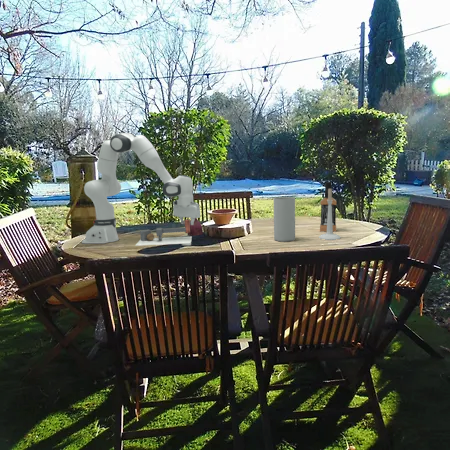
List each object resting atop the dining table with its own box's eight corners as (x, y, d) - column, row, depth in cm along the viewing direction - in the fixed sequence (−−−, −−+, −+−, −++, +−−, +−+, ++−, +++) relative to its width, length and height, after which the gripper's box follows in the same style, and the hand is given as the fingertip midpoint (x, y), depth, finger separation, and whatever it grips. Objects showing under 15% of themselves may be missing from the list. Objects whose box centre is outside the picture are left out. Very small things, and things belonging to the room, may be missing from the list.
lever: (156, 235, 235) (155, 222, 233) (156, 233, 242) (155, 221, 240) (190, 234, 237) (189, 220, 236) (190, 232, 244) (189, 219, 243)
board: (135, 247, 228) (134, 235, 227) (141, 240, 249) (140, 229, 247) (190, 245, 229) (190, 232, 228) (191, 238, 250) (191, 227, 249)
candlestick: (334, 235, 243) (334, 186, 239) (344, 239, 231) (345, 188, 226) (315, 237, 241) (315, 187, 236) (324, 240, 228) (324, 189, 224)
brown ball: (146, 241, 238) (146, 234, 238) (147, 240, 243) (147, 232, 242) (153, 241, 239) (153, 233, 238) (154, 239, 243) (154, 232, 242)
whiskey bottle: (336, 229, 264) (336, 181, 259) (336, 231, 255) (336, 182, 250) (320, 229, 267) (320, 181, 262) (319, 231, 257) (320, 182, 252)
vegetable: (200, 240, 260) (201, 219, 253) (185, 238, 262) (185, 217, 255) (204, 233, 269) (205, 213, 263) (190, 231, 271) (190, 211, 265)
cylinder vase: (275, 242, 229) (274, 199, 226) (273, 238, 242) (272, 197, 238) (296, 241, 229) (296, 198, 225) (293, 237, 242) (293, 196, 238)
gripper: (202, 202, 235) (203, 224, 238) (178, 200, 248) (179, 222, 251) (194, 203, 231) (195, 226, 233) (171, 201, 244) (172, 223, 246)
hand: (187, 224), depth 242 cm, fingers open, 6 cm apart
